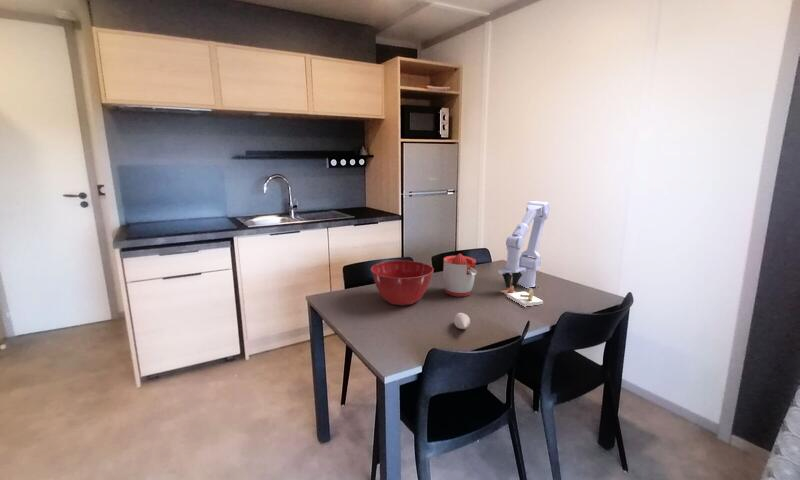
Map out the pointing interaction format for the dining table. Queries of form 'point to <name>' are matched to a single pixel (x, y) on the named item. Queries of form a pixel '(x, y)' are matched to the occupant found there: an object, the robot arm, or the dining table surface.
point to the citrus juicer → (459, 275)
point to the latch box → (524, 299)
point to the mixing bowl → (402, 280)
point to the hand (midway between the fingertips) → (510, 287)
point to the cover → (509, 290)
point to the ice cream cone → (461, 321)
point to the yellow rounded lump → (530, 296)
